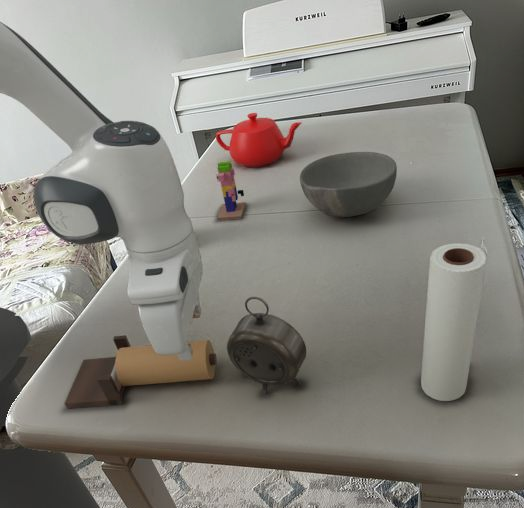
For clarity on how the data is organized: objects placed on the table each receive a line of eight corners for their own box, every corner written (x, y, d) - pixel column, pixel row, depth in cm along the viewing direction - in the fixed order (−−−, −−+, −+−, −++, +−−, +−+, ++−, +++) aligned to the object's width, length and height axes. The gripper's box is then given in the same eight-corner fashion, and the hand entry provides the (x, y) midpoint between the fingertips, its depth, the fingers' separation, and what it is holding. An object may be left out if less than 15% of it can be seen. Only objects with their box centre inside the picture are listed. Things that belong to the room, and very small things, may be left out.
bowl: (414, 200, 114) (416, 155, 107) (361, 243, 104) (360, 196, 97) (339, 183, 125) (336, 142, 119) (285, 221, 115) (279, 178, 109)
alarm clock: (311, 378, 77) (300, 290, 67) (298, 404, 74) (284, 315, 63) (246, 365, 82) (226, 280, 71) (231, 389, 78) (208, 303, 68)
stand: (67, 408, 81) (52, 383, 77) (86, 364, 88) (73, 339, 84) (122, 404, 79) (109, 379, 76) (136, 360, 87) (126, 335, 83)
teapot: (211, 172, 143) (201, 127, 135) (229, 149, 153) (221, 106, 145) (298, 170, 135) (293, 122, 127) (312, 146, 145) (308, 101, 138)
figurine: (223, 206, 126) (212, 157, 118) (245, 204, 125) (236, 155, 117) (217, 220, 121) (206, 170, 113) (241, 218, 119) (231, 168, 112)
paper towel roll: (429, 406, 70) (441, 274, 56) (414, 375, 75) (423, 246, 61) (481, 396, 70) (507, 262, 56) (464, 366, 75) (484, 235, 61)
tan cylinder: (114, 398, 80) (100, 370, 76) (125, 364, 86) (113, 337, 82) (217, 390, 78) (208, 361, 74) (221, 356, 84) (214, 328, 80)
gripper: (157, 219, 75) (181, 296, 84) (123, 303, 60) (158, 386, 69) (199, 213, 74) (219, 291, 83) (175, 297, 59) (204, 382, 68)
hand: (191, 335), depth 76 cm, fingers open, 8 cm apart
